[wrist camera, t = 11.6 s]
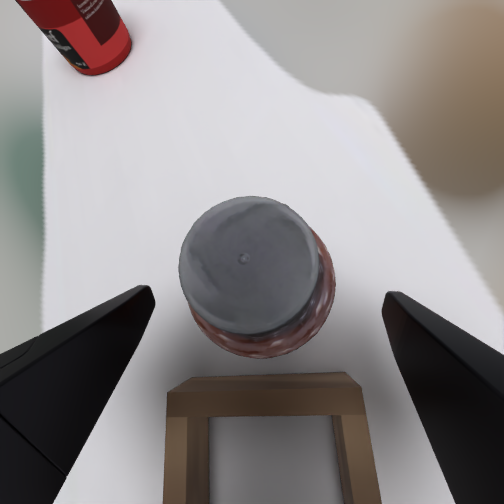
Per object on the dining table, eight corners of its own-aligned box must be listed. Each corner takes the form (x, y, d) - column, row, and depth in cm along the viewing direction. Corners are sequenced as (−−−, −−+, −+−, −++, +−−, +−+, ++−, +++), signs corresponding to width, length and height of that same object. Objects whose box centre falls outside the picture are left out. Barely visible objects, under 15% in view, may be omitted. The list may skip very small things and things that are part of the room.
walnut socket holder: (380, 593, 12) (416, 699, 9) (189, 578, 13) (156, 665, 10) (344, 372, 15) (361, 387, 12) (191, 377, 16) (167, 392, 13)
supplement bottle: (282, 359, 16) (270, 446, 5) (215, 307, 17) (99, 287, 7) (328, 287, 17) (404, 229, 6) (261, 244, 18) (224, 136, 8)
